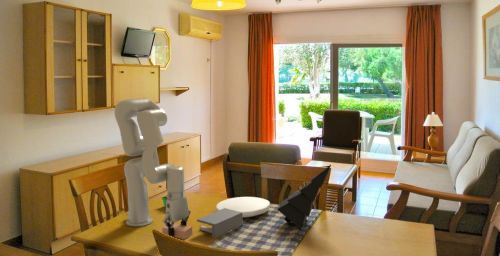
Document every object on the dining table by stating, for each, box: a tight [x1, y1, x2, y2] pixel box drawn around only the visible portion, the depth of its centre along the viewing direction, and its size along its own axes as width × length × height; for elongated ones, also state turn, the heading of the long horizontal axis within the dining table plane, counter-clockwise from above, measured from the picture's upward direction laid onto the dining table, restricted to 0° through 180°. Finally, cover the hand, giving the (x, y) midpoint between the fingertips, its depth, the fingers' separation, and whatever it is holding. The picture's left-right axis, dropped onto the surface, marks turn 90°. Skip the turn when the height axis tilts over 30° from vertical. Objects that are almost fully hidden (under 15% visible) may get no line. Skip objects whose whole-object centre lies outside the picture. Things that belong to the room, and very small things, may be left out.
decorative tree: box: [276, 164, 332, 229], centre depth 199 cm, size 15×15×35 cm
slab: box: [161, 223, 193, 240], centre depth 191 cm, size 12×6×4 cm, turn 65°
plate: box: [215, 196, 271, 218], centre depth 220 cm, size 28×6×27 cm
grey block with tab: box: [196, 208, 243, 240], centre depth 197 cm, size 13×19×6 cm
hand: (177, 232), depth 191 cm, fingers closed on slab, 6 cm apart
